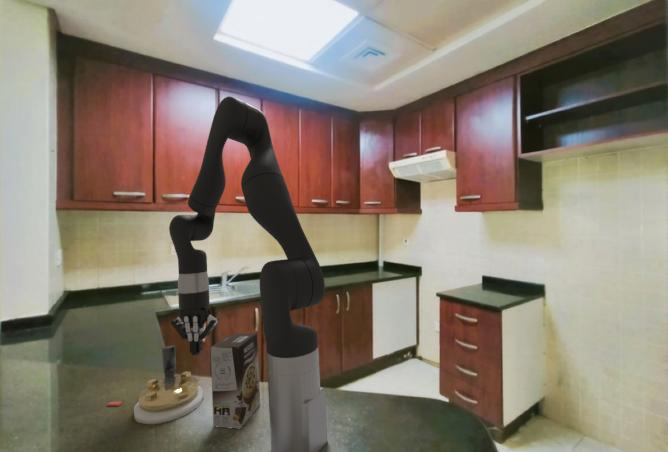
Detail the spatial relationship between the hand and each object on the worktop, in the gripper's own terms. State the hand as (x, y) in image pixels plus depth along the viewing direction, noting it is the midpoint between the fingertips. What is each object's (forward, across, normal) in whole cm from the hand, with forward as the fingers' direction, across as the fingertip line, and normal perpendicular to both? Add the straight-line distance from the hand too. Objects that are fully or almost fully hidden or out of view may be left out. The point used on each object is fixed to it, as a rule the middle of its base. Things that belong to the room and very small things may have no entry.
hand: (196, 354), depth 83 cm
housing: (+7, 0, +11) cm, 13 cm away
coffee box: (+7, -18, +15) cm, 24 cm away
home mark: (+7, +14, +12) cm, 19 cm away
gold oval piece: (+5, +2, +9) cm, 10 cm away
